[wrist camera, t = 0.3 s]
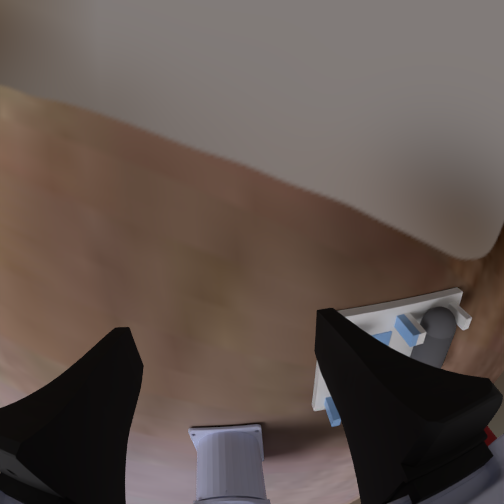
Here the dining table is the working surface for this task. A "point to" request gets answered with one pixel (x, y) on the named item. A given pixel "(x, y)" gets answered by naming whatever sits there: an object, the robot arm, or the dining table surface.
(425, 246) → the dining table surface
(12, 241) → the dining table surface
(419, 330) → the board
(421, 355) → the dark grey capsule
